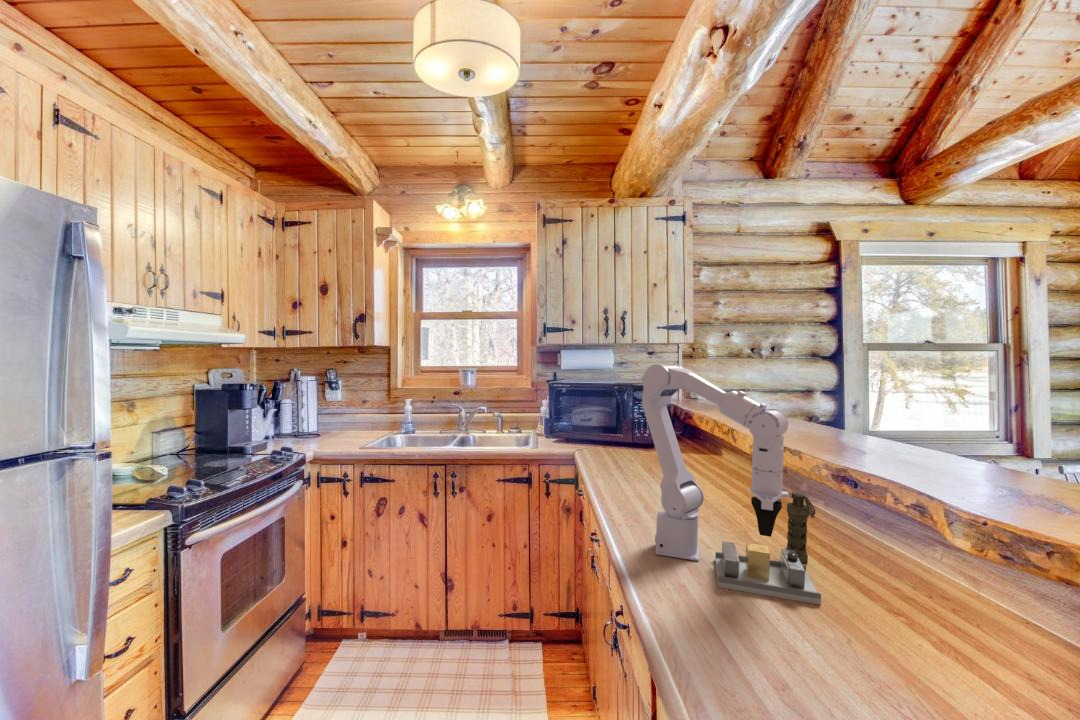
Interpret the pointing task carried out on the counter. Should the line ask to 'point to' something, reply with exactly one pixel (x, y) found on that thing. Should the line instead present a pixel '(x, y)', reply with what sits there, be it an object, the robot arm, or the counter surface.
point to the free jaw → (792, 569)
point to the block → (757, 561)
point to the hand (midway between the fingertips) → (765, 534)
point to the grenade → (798, 524)
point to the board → (767, 582)
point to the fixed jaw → (730, 560)
